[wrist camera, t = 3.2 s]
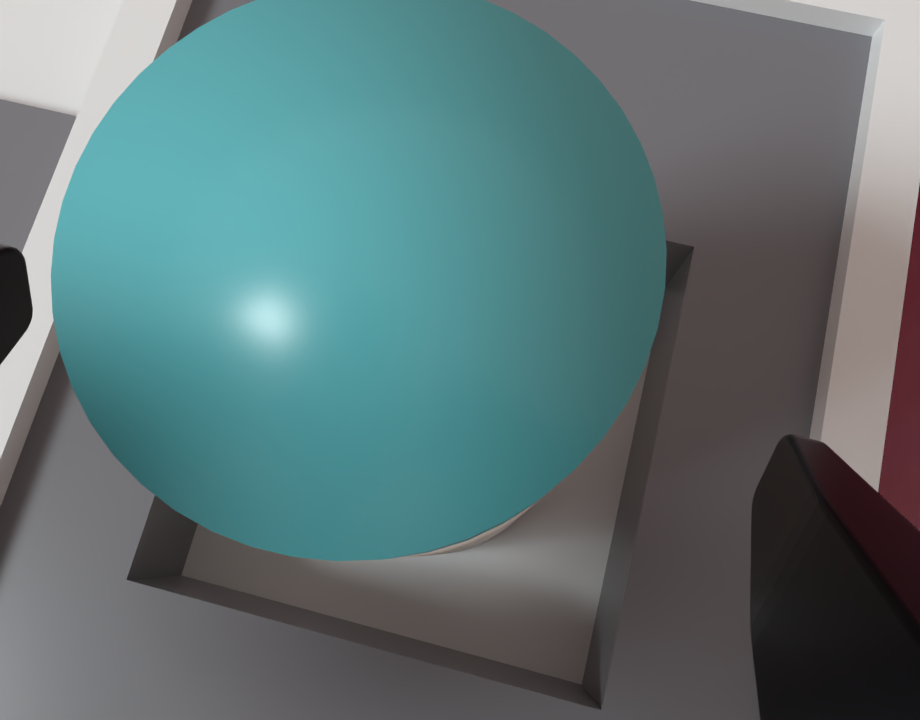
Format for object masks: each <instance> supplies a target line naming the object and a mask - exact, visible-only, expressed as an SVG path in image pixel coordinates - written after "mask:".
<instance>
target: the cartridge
mask: <svg viewBox="0 0 920 720" xmlns="http://www.w3.org/2000/svg"><path fill="white" fill-rule="evenodd" d="M666 253H667V249H666V239H665V229H664V220H663V211H662V207H661V203H660V199H659V195H658V191H657V187H656V183H655V179H654V175H653V173H652V170H651V168H650V165H649V163H648V160H647V157H646V155H645V152H644V150H643V147H642V145H641V142H640V140H639V139H638V137H637V135H636V133H635V132H634V130H633V128H632V126H631V124H630V123H629V121H628V119H627V117H626V116H625V114H624V112H623V110H622V109H621V107H620V106H619V105H618V104H617V102H616V101H615V100H614V98H613V97H612V96H611V94H610V93H609V92H608V90H607V89H606V88H605V86H604V85H603V84H602V82H601V81H600V80H599V79H598V78H597V77H596V76H595V75H594V74H593V73H592V72H591V71H590V70H589V69H588V68H587V67H586V66H585V65H584V64H583V63H582V62H581V61H580V60H579V59H578V58H577V57H576V56H575V55H574V54H573V53H572V52H571V51H569V50H568V49H567V48H565V47H564V46H563V45H562V44H560V43H559V42H558V41H557V40H555V39H554V38H553V37H551V36H550V35H549V34H548V33H546V32H545V31H543V30H541V29H540V28H538V27H536V26H535V25H533V24H531V23H530V22H528V21H526V20H525V19H523V18H521V17H520V16H518V15H516V14H515V13H512V12H510V11H508V10H506V9H503V8H501V7H499V6H497V5H494V4H492V3H490V2H488V1H485V0H255V1H252V2H250V3H247V4H245V5H242V6H240V7H237V8H235V9H232V10H230V11H228V12H226V13H224V14H223V15H221V16H219V17H217V18H215V19H213V20H212V21H210V22H208V23H206V24H204V25H202V26H200V27H199V28H197V29H195V30H194V31H193V32H191V33H190V34H188V35H187V36H185V37H184V38H183V39H181V40H180V41H178V42H177V43H175V44H174V45H173V46H171V47H170V48H168V49H167V50H166V51H165V52H164V53H162V54H161V55H160V56H159V57H158V58H157V59H156V60H154V61H153V62H152V63H151V64H150V65H149V66H148V67H147V68H145V69H144V70H143V71H142V72H141V73H140V74H139V75H138V76H137V77H136V78H135V79H134V80H133V82H132V83H131V84H130V85H129V86H128V87H127V88H126V89H125V91H124V92H123V93H122V94H121V95H120V96H119V97H118V98H117V99H116V101H115V102H114V103H113V105H112V106H111V107H110V109H109V110H108V112H107V113H106V115H105V116H104V118H103V119H102V120H101V122H100V123H99V125H98V126H97V128H96V129H95V130H94V132H93V134H92V135H91V137H90V139H89V141H88V143H87V145H86V147H85V149H84V151H83V153H82V155H81V156H80V158H79V160H78V162H77V164H76V166H75V169H74V171H73V174H72V177H71V179H70V182H69V185H68V188H67V190H66V193H65V196H64V198H63V201H62V205H61V210H60V214H59V218H58V223H57V227H56V232H55V236H54V244H53V255H52V266H51V293H52V314H53V319H54V324H55V329H56V335H57V340H58V345H59V350H60V354H61V357H62V359H63V362H64V365H65V368H66V371H67V374H68V377H69V380H70V383H71V386H72V388H73V390H74V392H75V394H76V396H77V398H78V400H79V402H80V404H81V406H82V408H83V410H84V412H85V414H86V416H87V417H88V419H89V421H90V423H91V425H92V426H93V427H94V429H95V430H96V432H97V433H98V434H99V436H100V437H101V439H102V440H103V441H104V443H105V444H106V446H107V447H108V448H109V450H110V451H111V453H112V454H113V455H114V456H115V457H116V458H117V460H118V461H119V462H120V463H121V464H122V465H123V466H124V467H125V468H126V469H127V470H128V471H129V472H130V473H131V474H132V475H133V476H134V477H135V478H136V479H137V480H138V481H139V482H140V483H141V485H143V486H144V487H145V488H147V489H148V490H149V491H150V492H152V493H153V494H154V495H156V496H157V497H158V498H159V499H161V500H162V501H163V502H165V503H166V504H167V505H168V506H170V507H171V508H172V509H174V510H175V511H177V512H179V513H180V514H182V515H184V516H186V517H187V518H189V519H191V520H193V521H194V522H196V523H198V524H200V525H201V526H203V527H205V528H207V529H208V530H210V531H212V532H215V533H217V534H220V535H223V536H225V537H228V538H230V539H233V540H235V541H238V542H240V543H243V544H245V545H248V546H250V547H254V548H258V549H263V550H267V551H271V552H275V553H279V554H283V555H287V556H291V557H300V558H310V559H319V560H329V561H355V560H382V559H393V558H405V557H417V556H429V555H440V554H447V553H453V552H459V551H462V550H465V549H468V548H471V547H475V546H477V545H479V544H481V543H483V542H485V541H487V540H490V539H491V538H493V537H494V536H496V535H497V534H499V533H500V532H502V531H504V530H505V529H506V528H507V527H508V526H509V525H511V524H512V523H513V522H514V521H515V520H517V519H518V518H519V517H520V516H521V515H522V514H524V513H525V512H526V511H527V510H528V509H529V508H531V507H532V506H533V505H534V504H535V503H536V502H538V501H539V500H540V499H541V498H542V497H543V496H544V495H546V494H547V493H548V492H549V491H550V490H551V489H553V488H554V487H555V486H556V485H557V484H558V483H560V482H561V481H562V480H563V479H564V478H565V477H567V476H568V475H569V474H570V473H571V472H572V471H574V470H575V469H576V468H577V467H578V466H579V464H580V463H581V462H582V461H583V460H584V459H585V458H586V457H587V455H588V454H589V453H590V452H591V451H592V450H593V449H594V448H595V447H596V445H597V444H598V443H599V442H600V441H601V440H602V439H603V438H604V436H605V435H606V433H607V432H608V430H609V429H610V427H611V426H612V425H613V423H614V422H615V420H616V419H617V417H618V416H619V414H620V413H621V411H622V410H623V408H624V407H625V405H626V404H627V402H628V400H629V398H630V396H631V394H632V392H633V390H634V388H635V386H636V384H637V382H638V380H639V378H640V376H641V374H642V372H643V370H644V368H645V366H646V363H647V360H648V357H649V354H650V351H651V348H652V345H653V341H654V338H655V335H656V332H657V329H658V325H659V320H660V314H661V309H662V303H663V298H664V292H665V278H666Z"/></svg>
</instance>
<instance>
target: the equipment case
mask: <svg viewBox="0 0 920 720" xmlns="http://www.w3.org/2000/svg"><path fill="white" fill-rule="evenodd" d="M252 1H255V0H0V244H4V245H8V246H12V247H15V248H17V249H18V250H19V251H20V252H21V253H22V254H23V256H24V258H25V261H26V267H27V273H28V280H29V286H30V293H31V299H32V306H33V314H32V319H31V323H30V325H29V327H28V329H27V331H26V332H25V333H24V335H23V336H22V337H21V339H20V340H19V341H18V342H17V344H16V345H15V346H14V348H13V349H12V350H11V352H10V353H9V354H8V356H7V357H6V358H5V360H4V361H3V362H2V364H1V365H0V720H760V715H759V706H758V697H757V688H756V680H755V671H754V662H753V653H752V643H751V631H750V568H751V508H752V501H753V496H754V493H755V490H756V487H757V485H758V483H759V481H760V479H761V477H762V475H763V473H764V471H765V469H766V466H767V464H768V462H769V460H770V458H771V456H772V454H773V452H774V450H775V448H776V446H777V444H778V442H779V441H780V440H781V438H782V437H784V436H785V435H788V434H793V435H798V436H802V437H806V438H810V439H814V440H819V441H821V442H824V443H825V444H826V445H828V446H829V447H830V448H831V449H832V450H833V451H834V452H835V453H836V454H837V455H838V456H839V457H840V458H842V459H843V460H844V461H845V462H846V463H847V464H848V465H849V466H850V467H851V468H852V469H853V470H854V471H855V472H857V473H858V474H859V475H860V476H861V477H862V478H863V479H864V480H865V481H866V482H867V483H868V484H869V485H870V486H872V487H873V488H874V489H875V490H876V491H877V492H878V488H879V481H880V473H881V466H882V459H883V451H884V444H885V436H886V429H887V421H888V414H889V407H890V399H891V392H892V384H893V377H894V370H895V362H896V355H897V347H898V340H899V332H900V325H901V318H902V310H903V303H904V295H905V288H906V280H907V273H908V266H909V258H910V251H911V243H912V236H913V229H914V221H915V214H916V206H917V199H918V191H919V184H920V0H485V1H488V2H490V3H492V4H494V5H497V6H499V7H501V8H503V9H506V10H508V11H510V12H512V13H515V14H516V15H518V16H520V17H521V18H523V19H525V20H526V21H528V22H530V23H531V24H533V25H535V26H536V27H538V28H540V29H541V30H543V31H545V32H546V33H548V34H549V35H550V36H551V37H553V38H554V39H555V40H557V41H558V42H559V43H560V44H562V45H563V46H564V47H565V48H567V49H568V50H569V51H571V52H572V53H573V54H574V55H575V56H576V57H577V58H578V59H579V60H580V61H581V62H582V63H583V64H584V65H585V66H586V67H587V68H588V69H589V70H590V71H591V72H592V73H593V74H594V75H595V76H596V77H597V78H598V79H599V80H600V81H601V82H602V84H603V85H604V86H605V88H606V89H607V90H608V92H609V93H610V94H611V96H612V97H613V98H614V100H615V101H616V102H617V104H618V105H619V106H620V107H621V109H622V110H623V112H624V114H625V116H626V117H627V119H628V121H629V123H630V124H631V126H632V128H633V130H634V132H635V133H636V135H637V137H638V139H639V140H640V142H641V145H642V147H643V150H644V152H645V155H646V157H647V160H648V163H649V165H650V168H651V170H652V173H653V175H654V179H655V183H656V187H657V191H658V195H659V199H660V203H661V207H662V211H663V220H664V229H665V239H666V249H667V253H666V278H665V292H664V298H663V303H662V309H661V314H660V320H659V325H658V329H657V332H656V335H655V338H654V341H653V345H652V348H651V351H650V354H649V357H648V360H647V363H646V366H645V368H644V370H643V372H642V374H641V376H640V378H639V380H638V382H637V384H636V386H635V388H634V390H633V392H632V394H631V396H630V398H629V400H628V402H627V404H626V405H625V407H624V408H623V410H622V411H621V413H620V414H619V416H618V417H617V419H616V420H615V422H614V423H613V425H612V426H611V427H610V429H609V430H608V432H607V433H606V435H605V436H604V438H603V439H602V440H601V441H600V442H599V443H598V444H597V445H596V447H595V448H594V449H593V450H592V451H591V452H590V453H589V454H588V455H587V457H586V458H585V459H584V460H583V461H582V462H581V463H580V464H579V466H578V467H577V468H576V469H575V470H574V471H572V472H571V473H570V474H569V475H568V476H567V477H565V478H564V479H563V480H562V481H561V482H560V483H558V484H557V485H556V486H555V487H554V488H553V489H551V490H550V491H549V492H548V493H547V494H546V495H544V496H543V497H542V498H541V499H540V500H539V501H538V502H536V503H535V504H534V505H533V506H532V507H531V508H529V509H528V510H527V511H526V512H525V513H524V514H522V515H521V516H520V517H519V518H518V519H517V520H515V521H514V522H513V523H512V524H511V525H509V526H508V527H507V528H506V529H505V530H504V531H502V532H500V533H499V534H497V535H496V536H494V537H493V538H491V539H490V540H487V541H485V542H483V543H481V544H479V545H477V546H475V547H471V548H468V549H465V550H462V551H459V552H453V553H447V554H440V555H429V556H417V557H405V558H393V559H382V560H355V561H329V560H319V559H310V558H300V557H291V556H287V555H283V554H279V553H275V552H271V551H267V550H263V549H258V548H254V547H250V546H248V545H245V544H243V543H240V542H238V541H235V540H233V539H230V538H228V537H225V536H223V535H220V534H217V533H215V532H212V531H210V530H208V529H207V528H205V527H203V526H201V525H200V524H198V523H196V522H194V521H193V520H191V519H189V518H187V517H186V516H184V515H182V514H180V513H179V512H177V511H175V510H174V509H172V508H171V507H170V506H168V505H167V504H166V503H165V502H163V501H162V500H161V499H159V498H158V497H157V496H156V495H154V494H153V493H152V492H150V491H149V490H148V489H147V488H145V487H144V486H143V485H141V483H140V482H139V481H138V480H137V479H136V478H135V477H134V476H133V475H132V474H131V473H130V472H129V471H128V470H127V469H126V468H125V467H124V466H123V465H122V464H121V463H120V462H119V461H118V460H117V458H116V457H115V456H114V455H113V454H112V453H111V451H110V450H109V448H108V447H107V446H106V444H105V443H104V441H103V440H102V439H101V437H100V436H99V434H98V433H97V432H96V430H95V429H94V427H93V426H92V425H91V423H90V421H89V419H88V417H87V416H86V414H85V412H84V410H83V408H82V406H81V404H80V402H79V400H78V398H77V396H76V394H75V392H74V390H73V388H72V386H71V383H70V380H69V377H68V374H67V371H66V368H65V365H64V362H63V359H62V357H61V354H60V350H59V345H58V340H57V335H56V329H55V324H54V319H53V314H52V293H51V266H52V255H53V244H54V236H55V232H56V227H57V223H58V218H59V214H60V210H61V205H62V201H63V198H64V196H65V193H66V190H67V188H68V185H69V182H70V179H71V177H72V174H73V171H74V169H75V166H76V164H77V162H78V160H79V158H80V156H81V155H82V153H83V151H84V149H85V147H86V145H87V143H88V141H89V139H90V137H91V135H92V134H93V132H94V130H95V129H96V128H97V126H98V125H99V123H100V122H101V120H102V119H103V118H104V116H105V115H106V113H107V112H108V110H109V109H110V107H111V106H112V105H113V103H114V102H115V101H116V99H117V98H118V97H119V96H120V95H121V94H122V93H123V92H124V91H125V89H126V88H127V87H128V86H129V85H130V84H131V83H132V82H133V80H134V79H135V78H136V77H137V76H138V75H139V74H140V73H141V72H142V71H143V70H144V69H145V68H147V67H148V66H149V65H150V64H151V63H152V62H153V61H154V60H156V59H157V58H158V57H159V56H160V55H161V54H162V53H164V52H165V51H166V50H167V49H168V48H170V47H171V46H173V45H174V44H175V43H177V42H178V41H180V40H181V39H183V38H184V37H185V36H187V35H188V34H190V33H191V32H193V31H194V30H195V29H197V28H199V27H200V26H202V25H204V24H206V23H208V22H210V21H212V20H213V19H215V18H217V17H219V16H221V15H223V14H224V13H226V12H228V11H230V10H232V9H235V8H237V7H240V6H242V5H245V4H247V3H250V2H252Z"/></svg>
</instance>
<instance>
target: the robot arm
mask: <svg viewBox="0 0 920 720" xmlns="http://www.w3.org/2000/svg"><path fill="white" fill-rule="evenodd" d="M32 314H33V306H32V299H31V293H30V286H29V280H28V273H27V267H26V261H25V258H24V256H23V254H22V253H21V252H20V251H19V250H18V249H17V248H15V247H12V246H8V245H4V244H0V365H1V364H2V362H3V361H4V360H5V358H6V357H7V356H8V354H9V353H10V352H11V350H12V349H13V348H14V346H15V345H16V344H17V342H18V341H19V340H20V339H21V337H22V336H23V335H24V333H25V332H26V331H27V329H28V327H29V325H30V323H31V319H32ZM750 631H751V643H752V653H753V662H754V671H755V680H756V688H757V697H758V706H759V715H760V720H920V531H919V530H918V529H917V528H916V527H914V526H913V525H912V524H911V523H910V522H909V521H908V520H907V519H906V518H905V517H904V516H903V515H902V514H901V513H899V512H898V511H897V510H896V509H895V508H894V507H893V506H892V505H891V504H890V503H889V502H888V501H887V500H886V499H884V498H883V497H882V496H881V495H880V494H879V493H878V492H877V491H876V490H875V489H874V488H873V487H872V486H870V485H869V484H868V483H867V482H866V481H865V480H864V479H863V478H862V477H861V476H860V475H859V474H858V473H857V472H855V471H854V470H853V469H852V468H851V467H850V466H849V465H848V464H847V463H846V462H845V461H844V460H843V459H842V458H840V457H839V456H838V455H837V454H836V453H835V452H834V451H833V450H832V449H831V448H830V447H829V446H828V445H826V444H825V443H824V442H821V441H819V440H814V439H810V438H806V437H802V436H798V435H793V434H788V435H785V436H784V437H782V438H781V440H780V441H779V442H778V444H777V446H776V448H775V450H774V452H773V454H772V456H771V458H770V460H769V462H768V464H767V466H766V469H765V471H764V473H763V475H762V477H761V479H760V481H759V483H758V485H757V487H756V490H755V493H754V496H753V501H752V508H751V568H750Z"/></svg>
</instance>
